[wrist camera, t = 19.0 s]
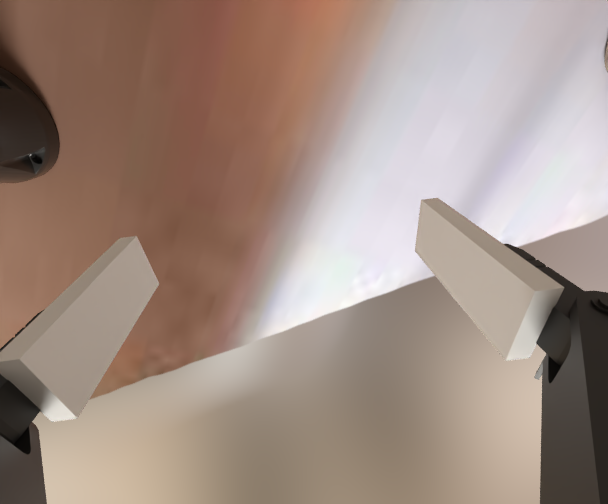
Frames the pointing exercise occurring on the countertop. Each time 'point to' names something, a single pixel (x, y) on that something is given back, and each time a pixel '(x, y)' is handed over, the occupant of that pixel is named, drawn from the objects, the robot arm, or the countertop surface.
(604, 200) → the countertop surface
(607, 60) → the ceramic vessel
